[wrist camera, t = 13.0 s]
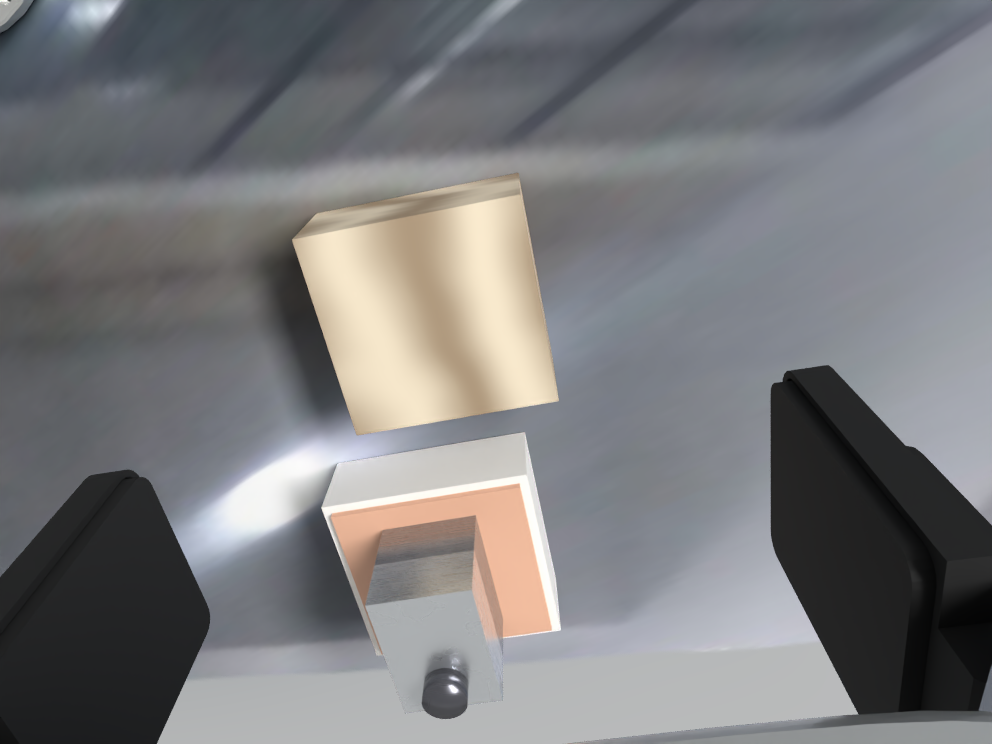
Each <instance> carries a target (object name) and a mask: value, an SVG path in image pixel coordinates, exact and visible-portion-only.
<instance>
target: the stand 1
mask: <svg viewBox="0 0 992 744" xmlns="http://www.w3.org/2000/svg"><path fill="white" fill-rule="evenodd" d="M292 241H293V244H294V247H295V250H296V253H297V256H298V259H299V262H300V265H301V268H302V271H303V275H304V278H305V281H306V284H307V287H308V290H309V293H310V296H311V299H312V302H313V305H314V308H315V311H316V314H317V317H318V320H319V323H320V326H321V329H322V332H323V335H324V338H325V341H326V344H327V347H328V350H329V353H330V356H331V359H332V362H333V365H334V368H335V371H336V374H337V377H338V380H339V383H340V386H341V389H342V392H343V395H344V398H345V401H346V404H347V407H348V410H349V413H350V416H351V419H352V422H353V425H354V428H355V431H356V434H357V435H362V434H368V433H374V432H380V431H386V430H392V429H398V428H403V427H409V426H415V425H421V424H427V423H433V422H439V421H444V420H450V419H456V418H462V417H468V416H474V415H479V414H485V413H491V412H497V411H503V410H509V409H515V408H520V407H526V406H532V405H538V404H544V403H550V402H556V401H559V400H558V393H557V386H556V379H555V372H554V365H553V359H552V353H551V348H550V342H549V337H548V331H547V326H546V320H545V315H544V310H543V304H542V299H541V293H540V288H539V282H538V277H537V271H536V266H535V261H534V255H533V250H532V244H531V239H530V233H529V228H528V222H527V217H526V211H525V206H524V201H523V195H522V190H521V184H520V179H519V173H515V174H510V175H505V176H500V177H495V178H490V179H485V180H480V181H475V182H470V183H466V184H461V185H456V186H451V187H446V188H441V189H436V190H431V191H426V192H421V193H416V194H411V195H406V196H401V197H396V198H391V199H386V200H381V201H376V202H371V203H366V204H361V205H357V206H352V207H347V208H342V209H337V210H332V211H327V212H322V213H317V214H315V215H314V217H313V218H312V219H311V220H310V221H309V222H308V223H307V224H306V225H305V226H304V227H303V228H302V229H301V231H300V232H299V233H298V234H297V235H296V236H295V237H294V238H293V239H292Z"/></svg>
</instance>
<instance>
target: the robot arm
mask: <svg viewBox="0 0 992 744" xmlns="http://www.w3.org/2000/svg"><path fill="white" fill-rule="evenodd" d="M32 2H33V0H0V33H1V32H3V31H5V30H7V29H8V28H9V27H11V26H12V25H13V24H14V23H15V22H16V21H17V20H18V19H19V18H21V17H22V16H23V15H24V14H25V12H26V11H27V9H28V8H29V6H30V5H31V3H32ZM771 537H772V543H773V547H774V550H775V553H776V555H777V558H778V560H779V562H780V564H781V566H782V567H783V569H784V571H785V573H786V575H787V577H788V579H789V581H790V583H791V585H792V587H793V589H794V591H795V593H796V595H797V596H798V598H799V600H800V602H801V604H802V606H803V608H804V610H805V612H806V614H807V616H808V618H809V620H810V622H811V623H812V625H813V627H814V629H815V631H816V633H817V635H818V637H819V639H820V641H821V643H822V645H823V647H824V649H825V651H826V652H827V654H828V656H829V658H830V660H831V662H832V664H833V666H834V668H835V670H836V672H837V674H838V675H839V677H840V679H841V681H842V683H843V685H844V687H845V689H846V691H847V693H848V695H849V697H850V699H851V701H852V703H853V704H854V706H855V708H856V710H857V712H858V714H859V715H843V716H832V717H822V718H809V719H799V720H788V721H779V722H768V723H758V724H747V725H736V726H726V727H715V728H704V729H695V730H686V731H677V732H669V733H660V734H650V735H641V736H632V737H623V738H613V739H604V740H595V741H586V742H577V743H568V744H992V525H991V524H990V523H989V522H988V521H987V520H986V519H985V518H984V517H983V516H982V515H981V514H980V513H979V512H978V511H977V510H976V509H975V508H974V507H973V505H972V504H971V503H970V502H969V501H968V500H967V499H966V498H965V497H964V496H963V495H962V494H961V493H960V492H959V491H958V490H957V489H956V488H955V487H954V486H953V485H952V484H951V483H950V482H949V481H948V480H947V479H946V477H945V476H944V475H943V474H942V473H941V472H940V471H939V470H938V469H937V468H936V467H935V466H934V465H933V464H932V463H931V462H930V461H929V460H928V459H927V458H926V457H925V456H924V455H923V454H922V453H921V452H920V451H918V450H917V449H916V448H914V447H909V446H905V445H904V444H903V443H902V442H901V441H900V439H899V438H898V437H897V436H896V435H895V434H894V433H893V432H892V431H891V430H890V429H889V428H888V427H887V426H886V425H885V424H884V422H883V421H882V420H881V419H880V418H879V417H878V416H877V415H876V414H875V413H874V412H873V411H872V410H871V409H870V408H869V407H868V406H867V404H866V403H865V402H864V401H863V400H862V399H861V398H860V397H859V396H858V395H857V394H856V393H855V392H854V391H853V390H852V389H851V388H850V386H849V385H848V384H847V383H846V382H845V381H844V380H843V379H842V378H841V377H840V376H839V375H838V374H837V373H836V372H835V371H834V369H833V368H831V367H830V366H828V365H826V366H818V367H812V368H805V369H798V370H791V371H787V372H786V373H785V374H784V377H783V382H779V383H774V384H773V385H772V388H771ZM209 624H210V613H209V608H208V606H207V603H206V601H205V599H204V597H203V595H202V592H201V590H200V588H199V586H198V584H197V582H196V580H195V577H194V575H193V573H192V571H191V569H190V567H189V564H188V562H187V560H186V558H185V556H184V554H183V551H182V549H181V547H180V545H179V543H178V541H177V538H176V536H175V534H174V532H173V530H172V528H171V526H170V523H169V521H168V519H167V517H166V515H165V513H164V510H163V508H162V506H161V504H160V502H159V500H158V497H157V495H156V493H155V491H154V489H153V487H152V485H151V483H150V482H149V480H147V479H146V478H144V477H139V476H138V475H137V474H136V473H135V472H134V471H132V470H122V471H115V472H109V473H102V474H95V475H91V476H89V477H88V478H86V479H85V480H84V481H83V482H82V484H81V485H80V486H79V487H78V488H77V489H76V491H75V492H74V493H73V494H72V495H71V496H70V498H69V499H68V500H67V501H66V502H65V503H64V504H63V506H62V507H61V508H60V509H59V510H58V511H57V513H56V514H55V515H54V516H53V517H52V518H51V519H50V521H49V522H48V523H47V524H46V525H45V526H44V528H43V529H42V530H41V531H40V532H39V533H38V534H37V536H36V537H35V538H34V539H33V540H32V541H31V543H30V544H29V545H28V546H27V547H26V548H25V549H24V551H23V552H22V553H21V554H20V555H19V556H18V558H17V559H16V560H15V561H14V562H13V563H12V564H11V566H10V567H9V568H8V569H7V570H6V571H5V573H4V574H3V575H2V576H1V577H0V744H157V742H158V740H159V737H160V735H161V733H162V731H163V728H164V726H165V724H166V722H167V720H168V718H169V716H170V713H171V711H172V709H173V707H174V705H175V702H176V700H177V698H178V696H179V694H180V691H181V689H182V687H183V685H184V683H185V681H186V678H187V676H188V674H189V672H190V670H191V668H192V665H193V663H194V661H195V659H196V657H197V654H198V652H199V650H200V648H201V646H202V643H203V641H204V639H205V637H206V635H207V632H208V629H209Z"/></svg>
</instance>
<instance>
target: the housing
mask: <svg viewBox="0 0 992 744" xmlns="http://www.w3.org/2000/svg"><path fill="white" fill-rule="evenodd" d="M365 607H366V610H367V612H368V615H369V618H370V621H371V623H372V626H373V629H374V631H375V634H376V637H377V639H378V642H379V645H380V647H381V650H382V653H383V655H384V658H385V661H386V664H387V666H388V669H389V672H390V674H391V677H392V679H393V682H394V685H395V688H396V690H397V693H398V696H399V698H400V701H401V704H402V707H403V709H404V712H405V713H412V712H419V711H426V712H427V713H428V714H430V715H431V716H434V717H436V718H440V719H451V718H455V717H457V716H459V715H461V714H462V713H463V712H464V711H465V710H466V708H467V705H472V704H480V703H487V702H495V701H502V700H503V616H502V613H501V609H500V605H499V601H498V597H497V594H496V590H495V586H494V582H493V578H492V575H491V571H490V567H489V563H488V559H487V556H486V552H485V548H484V544H483V541H482V537H481V533H480V529H479V525H478V522H477V518H476V515H474V516H467V517H461V518H455V519H448V520H442V521H436V522H430V523H423V524H417V525H411V526H404V527H398V528H392V529H385V530H383V531H382V535H381V539H380V544H379V548H378V552H377V557H376V561H375V565H374V569H373V574H372V578H371V582H370V587H369V591H368V595H367V600H366V604H365Z"/></svg>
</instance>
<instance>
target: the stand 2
mask: <svg viewBox="0 0 992 744" xmlns="http://www.w3.org/2000/svg"><path fill="white" fill-rule="evenodd" d="M321 508H322V511H323V513H324V516H325V519H326V521H327V524H328V527H329V529H330V532H331V535H332V537H333V540H334V543H335V545H336V548H337V551H338V553H339V556H340V559H341V561H342V564H343V567H344V569H345V572H346V575H347V577H348V580H349V583H350V585H351V588H352V591H353V593H354V596H355V599H356V601H357V604H358V607H359V609H360V612H361V615H362V617H363V620H364V623H365V625H366V628H367V631H368V633H369V636H370V639H371V641H372V644H373V646H374V649H375V652H376V654H377V656H382V655H383V653H382V650H381V647H380V645H379V642H378V639H377V637H376V634H375V631H374V629H373V626H372V623H371V621H370V618H369V615H368V612H367V610H366V607H365V604H366V600H367V595H368V591H369V587H370V582H371V578H372V574H373V569H374V565H375V561H376V557H377V552H378V548H379V544H380V539H381V535H382V531H383V530H385V529H392V528H398V527H404V526H411V525H417V524H423V523H430V522H436V521H442V520H448V519H455V518H461V517H467V516H474V515H476V518H477V522H478V525H479V529H480V533H481V537H482V541H483V544H484V548H485V552H486V556H487V559H488V563H489V567H490V571H491V575H492V578H493V582H494V586H495V590H496V594H497V597H498V601H499V605H500V609H501V613H502V616H503V638H509V637H517V636H524V635H531V634H538V633H545V632H552V631H559V630H561V628H560V618H559V607H558V596H557V586H556V577H555V573H554V568H553V563H552V559H551V554H550V549H549V545H548V540H547V535H546V530H545V526H544V521H543V516H542V512H541V507H540V502H539V497H538V493H537V488H536V483H535V479H534V474H533V469H532V465H531V460H530V455H529V450H528V446H527V441H526V436H525V432H522V433H516V434H510V435H504V436H498V437H492V438H486V439H480V440H474V441H468V442H462V443H456V444H450V445H444V446H438V447H432V448H426V449H420V450H414V451H408V452H402V453H396V454H390V455H384V456H378V457H373V458H367V459H361V460H355V461H349V462H343V463H338V464H337V466H336V469H335V472H334V475H333V477H332V480H331V483H330V486H329V488H328V491H327V494H326V496H325V499H324V502H323V505H322V507H321Z"/></svg>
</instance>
